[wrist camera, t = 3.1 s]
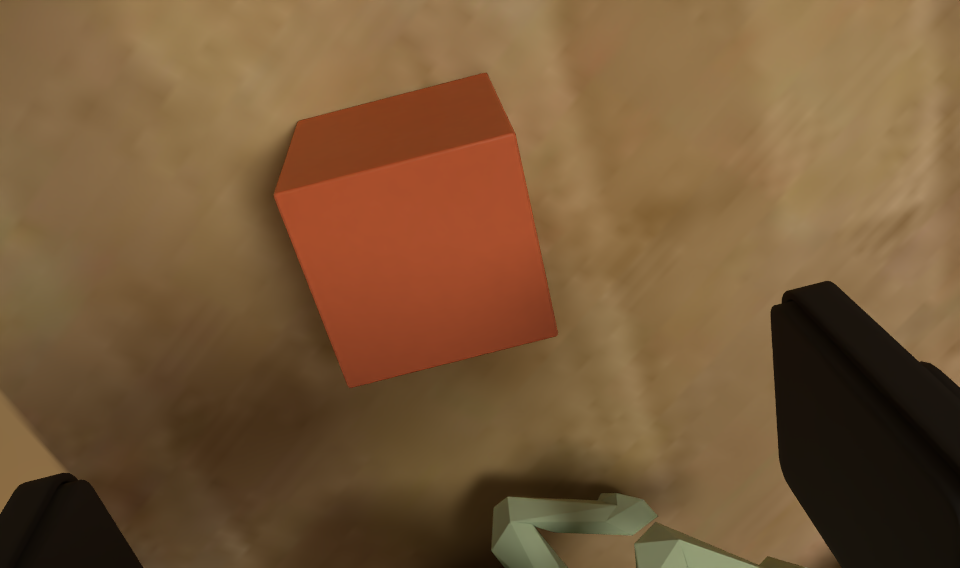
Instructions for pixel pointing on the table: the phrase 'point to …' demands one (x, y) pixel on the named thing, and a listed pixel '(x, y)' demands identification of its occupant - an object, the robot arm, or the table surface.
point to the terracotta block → (416, 230)
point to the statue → (659, 552)
